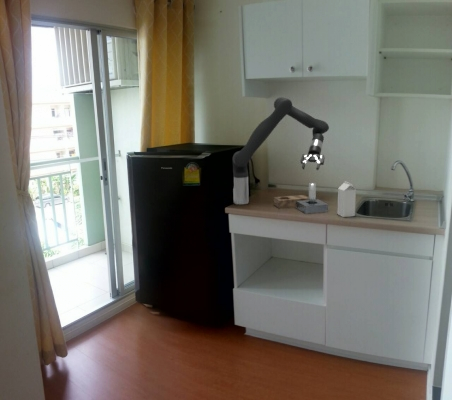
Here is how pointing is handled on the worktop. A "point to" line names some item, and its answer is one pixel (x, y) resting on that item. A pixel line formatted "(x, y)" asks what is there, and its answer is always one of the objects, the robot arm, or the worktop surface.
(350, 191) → the milk carton
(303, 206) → the holder
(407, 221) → the worktop surface
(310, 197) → the axle
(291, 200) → the wooden block with hole
